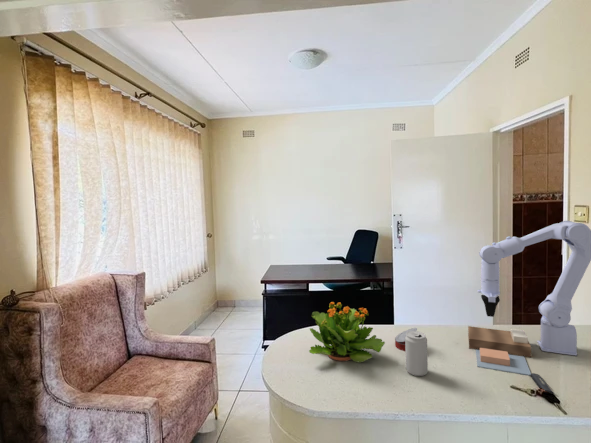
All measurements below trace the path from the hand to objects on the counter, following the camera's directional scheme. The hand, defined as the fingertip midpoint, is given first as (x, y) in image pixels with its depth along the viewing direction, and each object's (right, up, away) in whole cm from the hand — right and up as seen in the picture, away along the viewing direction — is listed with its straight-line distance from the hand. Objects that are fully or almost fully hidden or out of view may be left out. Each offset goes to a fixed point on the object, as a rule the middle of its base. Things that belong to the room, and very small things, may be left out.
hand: (490, 315), depth 119 cm
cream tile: (+7, -6, -5) cm, 11 cm away
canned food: (-30, -12, 0) cm, 32 cm away
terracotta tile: (-6, -9, -12) cm, 16 cm away
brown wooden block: (+1, -10, -2) cm, 10 cm away
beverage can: (-33, -13, -17) cm, 39 cm away
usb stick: (-1, -12, -27) cm, 29 cm away
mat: (-4, -11, -14) cm, 18 cm away
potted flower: (-55, -13, -4) cm, 57 cm away
